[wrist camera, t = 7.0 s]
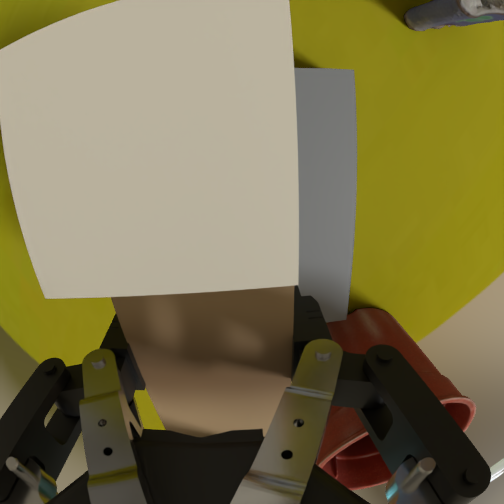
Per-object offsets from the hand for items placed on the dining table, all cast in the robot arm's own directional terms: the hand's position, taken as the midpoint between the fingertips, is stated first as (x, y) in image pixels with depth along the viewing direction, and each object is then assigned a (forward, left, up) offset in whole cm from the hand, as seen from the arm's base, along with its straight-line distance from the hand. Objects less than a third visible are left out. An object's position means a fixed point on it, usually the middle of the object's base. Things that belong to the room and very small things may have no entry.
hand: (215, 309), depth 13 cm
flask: (-19, +22, -16) cm, 33 cm away
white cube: (-8, 0, +3) cm, 8 cm away
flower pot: (+19, +14, -16) cm, 28 cm away
